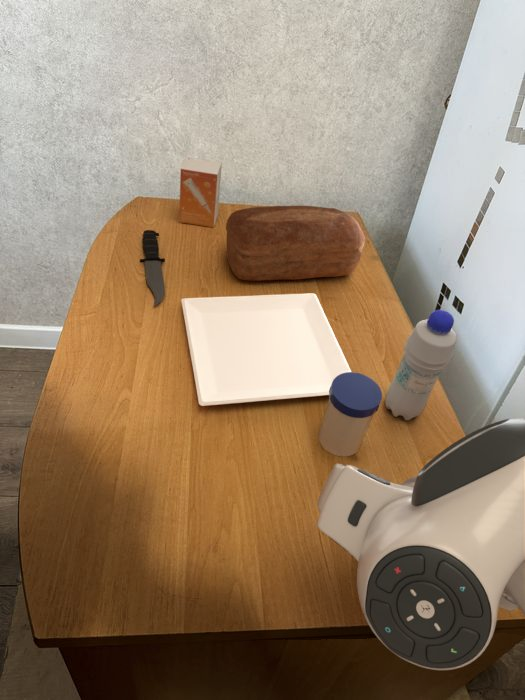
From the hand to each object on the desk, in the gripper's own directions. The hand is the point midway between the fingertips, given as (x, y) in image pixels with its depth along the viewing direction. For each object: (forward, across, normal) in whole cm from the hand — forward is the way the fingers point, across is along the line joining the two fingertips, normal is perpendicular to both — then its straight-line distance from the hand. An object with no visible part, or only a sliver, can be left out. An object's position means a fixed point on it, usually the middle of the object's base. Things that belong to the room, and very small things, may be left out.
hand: (417, 516), depth 58 cm
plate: (+26, +32, -9) cm, 42 cm away
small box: (+47, +66, -30) cm, 87 cm away
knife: (+31, +62, -14) cm, 70 cm away
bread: (+45, +41, -28) cm, 66 cm away
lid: (+11, +13, -9) cm, 20 cm away
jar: (+19, +13, -2) cm, 23 cm away
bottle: (+27, +7, -10) cm, 30 cm away
